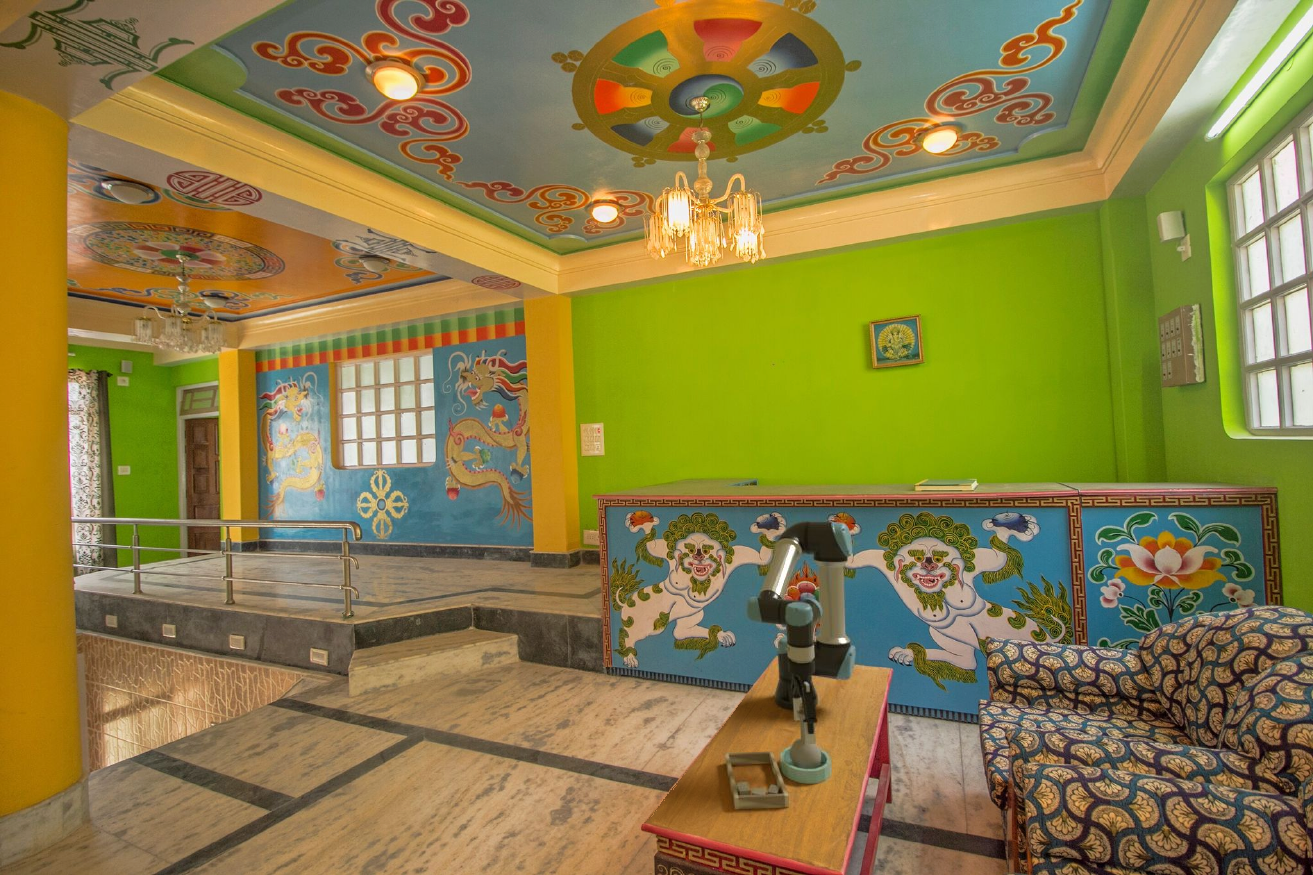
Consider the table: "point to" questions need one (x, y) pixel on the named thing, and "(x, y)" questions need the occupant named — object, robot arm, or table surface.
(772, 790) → the pebble
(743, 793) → the grey block
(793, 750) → the potion bottle
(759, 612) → the robot arm
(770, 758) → the tray
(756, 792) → the pebble
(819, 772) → the bowl
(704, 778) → the table surface
